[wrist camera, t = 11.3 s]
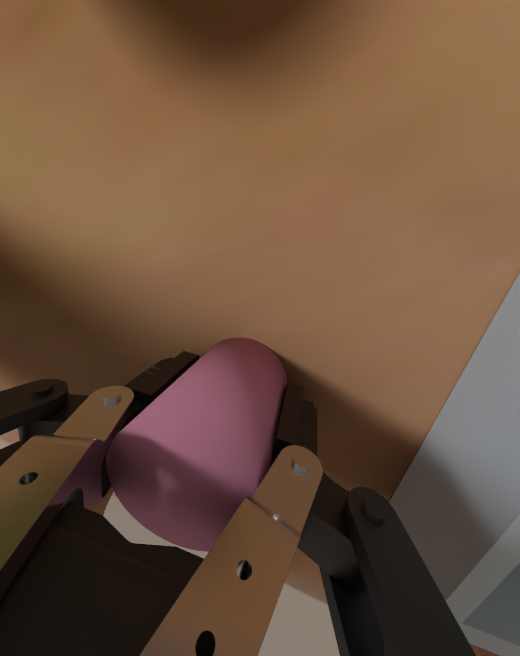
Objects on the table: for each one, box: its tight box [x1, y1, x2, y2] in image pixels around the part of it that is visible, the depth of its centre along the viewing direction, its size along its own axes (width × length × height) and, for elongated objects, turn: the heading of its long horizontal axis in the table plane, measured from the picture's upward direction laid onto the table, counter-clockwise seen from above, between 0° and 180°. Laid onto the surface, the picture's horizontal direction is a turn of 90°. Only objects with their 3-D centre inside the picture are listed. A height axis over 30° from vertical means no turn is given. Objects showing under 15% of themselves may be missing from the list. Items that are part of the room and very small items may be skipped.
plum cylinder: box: [106, 338, 287, 551], centre depth 9 cm, size 4×4×6 cm
